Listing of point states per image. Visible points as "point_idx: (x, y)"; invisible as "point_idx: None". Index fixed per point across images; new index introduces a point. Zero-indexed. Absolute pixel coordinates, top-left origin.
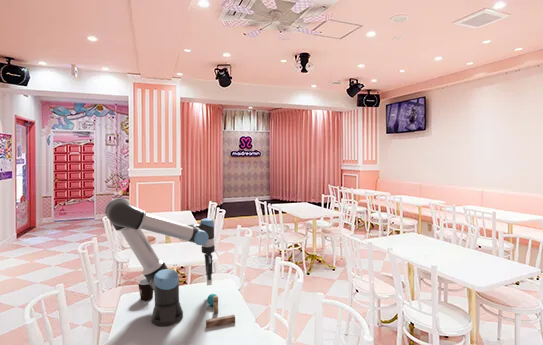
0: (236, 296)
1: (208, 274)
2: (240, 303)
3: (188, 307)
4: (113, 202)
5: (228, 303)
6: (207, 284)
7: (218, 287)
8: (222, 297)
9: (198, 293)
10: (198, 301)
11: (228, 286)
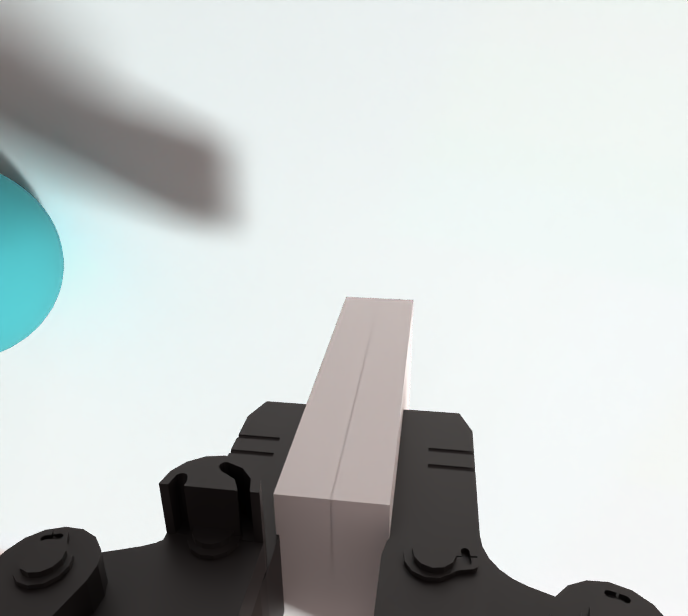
0: None
1: (19, 565)
2: (17, 540)
3: None
4: None
5: (36, 430)
6: (342, 314)
7: (634, 457)
8: (234, 413)
9: (563, 64)
10: (191, 11)
11: None
